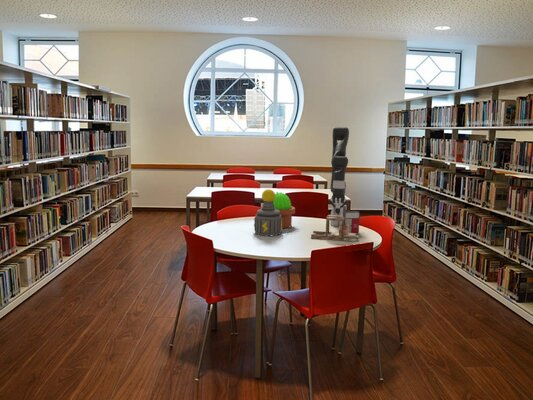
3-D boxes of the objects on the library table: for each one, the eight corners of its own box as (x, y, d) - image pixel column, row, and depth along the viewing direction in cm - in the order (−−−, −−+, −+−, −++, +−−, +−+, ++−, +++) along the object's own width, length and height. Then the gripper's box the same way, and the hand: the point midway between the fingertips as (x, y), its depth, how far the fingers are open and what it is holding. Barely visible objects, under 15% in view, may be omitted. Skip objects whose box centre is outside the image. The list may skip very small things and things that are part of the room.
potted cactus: (292, 229, 337) (293, 194, 334) (262, 228, 341) (262, 193, 338) (296, 223, 359) (297, 190, 355) (267, 222, 362) (268, 189, 359)
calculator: (343, 234, 326) (344, 212, 323) (341, 232, 330) (342, 211, 328) (359, 233, 328) (360, 212, 326) (356, 232, 332) (357, 211, 330)
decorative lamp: (279, 237, 314) (280, 191, 309) (251, 235, 317) (251, 190, 313) (284, 231, 332) (284, 188, 328) (257, 229, 335) (258, 187, 331)
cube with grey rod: (330, 236, 310) (331, 207, 307) (331, 233, 318) (332, 204, 315) (355, 237, 306) (357, 208, 303) (356, 234, 315) (357, 206, 312)
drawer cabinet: (311, 238, 311) (311, 217, 309) (313, 234, 323) (313, 214, 321) (358, 241, 305) (358, 219, 303) (358, 237, 316) (359, 216, 314)
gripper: (349, 187, 311) (348, 213, 313) (329, 186, 314) (328, 212, 316) (348, 188, 304) (347, 215, 306) (327, 187, 306) (326, 214, 309)
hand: (337, 213), depth 311 cm, fingers closed
